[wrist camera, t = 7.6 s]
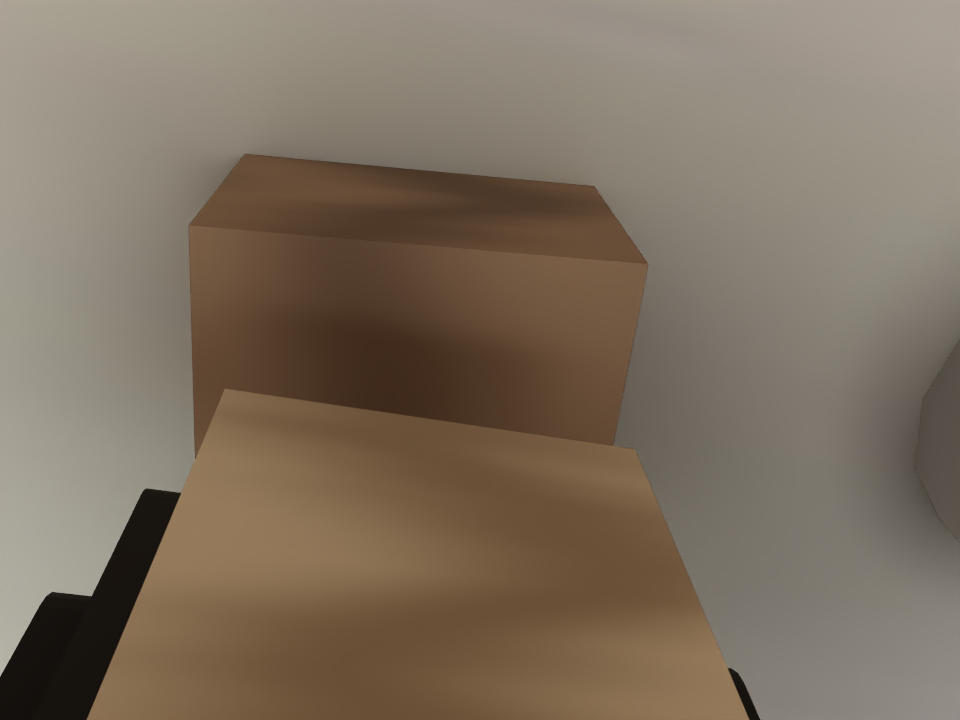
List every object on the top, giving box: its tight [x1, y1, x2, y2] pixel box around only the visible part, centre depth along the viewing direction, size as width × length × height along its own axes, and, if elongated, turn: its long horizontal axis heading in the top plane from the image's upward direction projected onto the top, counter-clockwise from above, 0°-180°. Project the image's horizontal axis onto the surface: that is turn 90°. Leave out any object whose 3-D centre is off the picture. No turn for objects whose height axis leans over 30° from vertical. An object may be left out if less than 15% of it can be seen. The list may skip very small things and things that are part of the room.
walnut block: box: [189, 154, 648, 459], centre depth 18 cm, size 7×7×5 cm
